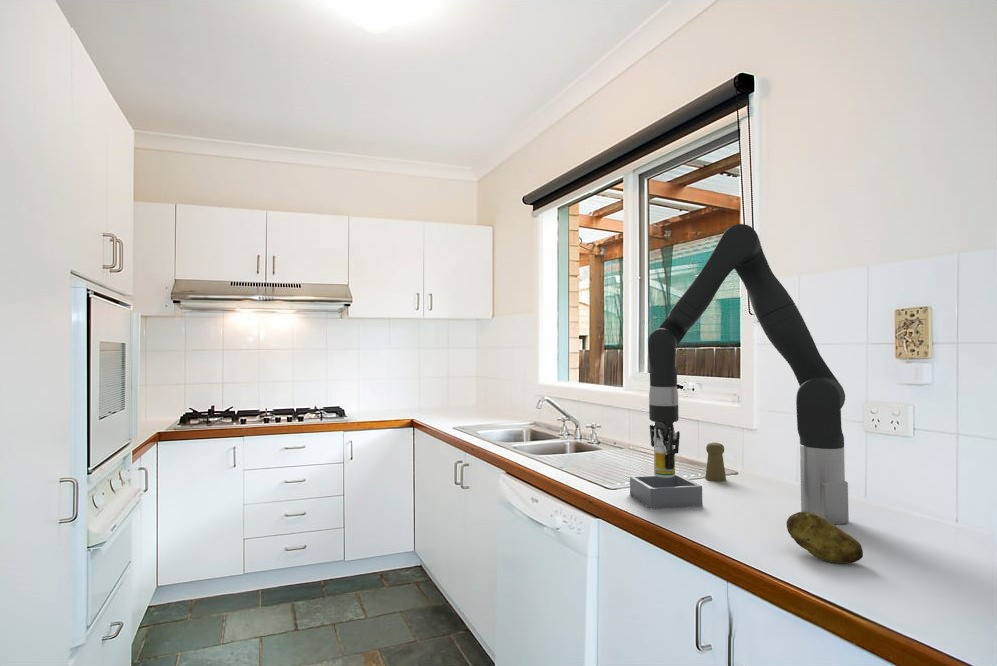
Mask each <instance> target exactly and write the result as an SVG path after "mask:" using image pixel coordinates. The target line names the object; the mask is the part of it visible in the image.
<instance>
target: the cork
mask: <svg viewBox="0 0 997 666" xmlns="http://www.w3.org/2000/svg"><path fill="white" fill-rule="evenodd" d="M705 449H706V451H705V452H707V462H706V467H705V468H706V470H705V477H704V478H705V480H706V481H709V482H717V483H718V482H719V483H720V482H726V481H727V475H726V469H725V462H724V457H723V456H724V455H723V454H724V453H725V446H724V445H723V444H722V443H719V442H709V443H707V444H706V446H705Z"/></svg>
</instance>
